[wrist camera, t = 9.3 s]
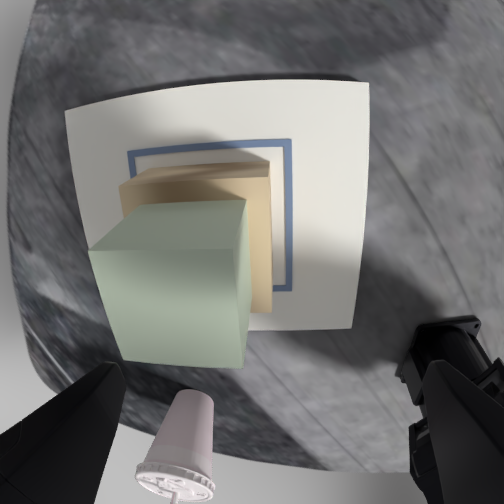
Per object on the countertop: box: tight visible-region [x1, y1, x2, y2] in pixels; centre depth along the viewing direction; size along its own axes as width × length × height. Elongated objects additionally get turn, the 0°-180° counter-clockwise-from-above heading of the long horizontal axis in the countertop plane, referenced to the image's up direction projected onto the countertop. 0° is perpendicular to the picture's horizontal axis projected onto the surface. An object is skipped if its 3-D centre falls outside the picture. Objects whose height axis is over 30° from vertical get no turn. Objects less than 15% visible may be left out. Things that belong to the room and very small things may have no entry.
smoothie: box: [135, 389, 215, 504], centre depth 22 cm, size 6×6×14 cm
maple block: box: [118, 161, 273, 313], centre depth 17 cm, size 7×7×4 cm
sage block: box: [88, 200, 252, 369], centre depth 13 cm, size 5×5×5 cm
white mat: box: [65, 80, 369, 330], centre depth 19 cm, size 18×16×1 cm
